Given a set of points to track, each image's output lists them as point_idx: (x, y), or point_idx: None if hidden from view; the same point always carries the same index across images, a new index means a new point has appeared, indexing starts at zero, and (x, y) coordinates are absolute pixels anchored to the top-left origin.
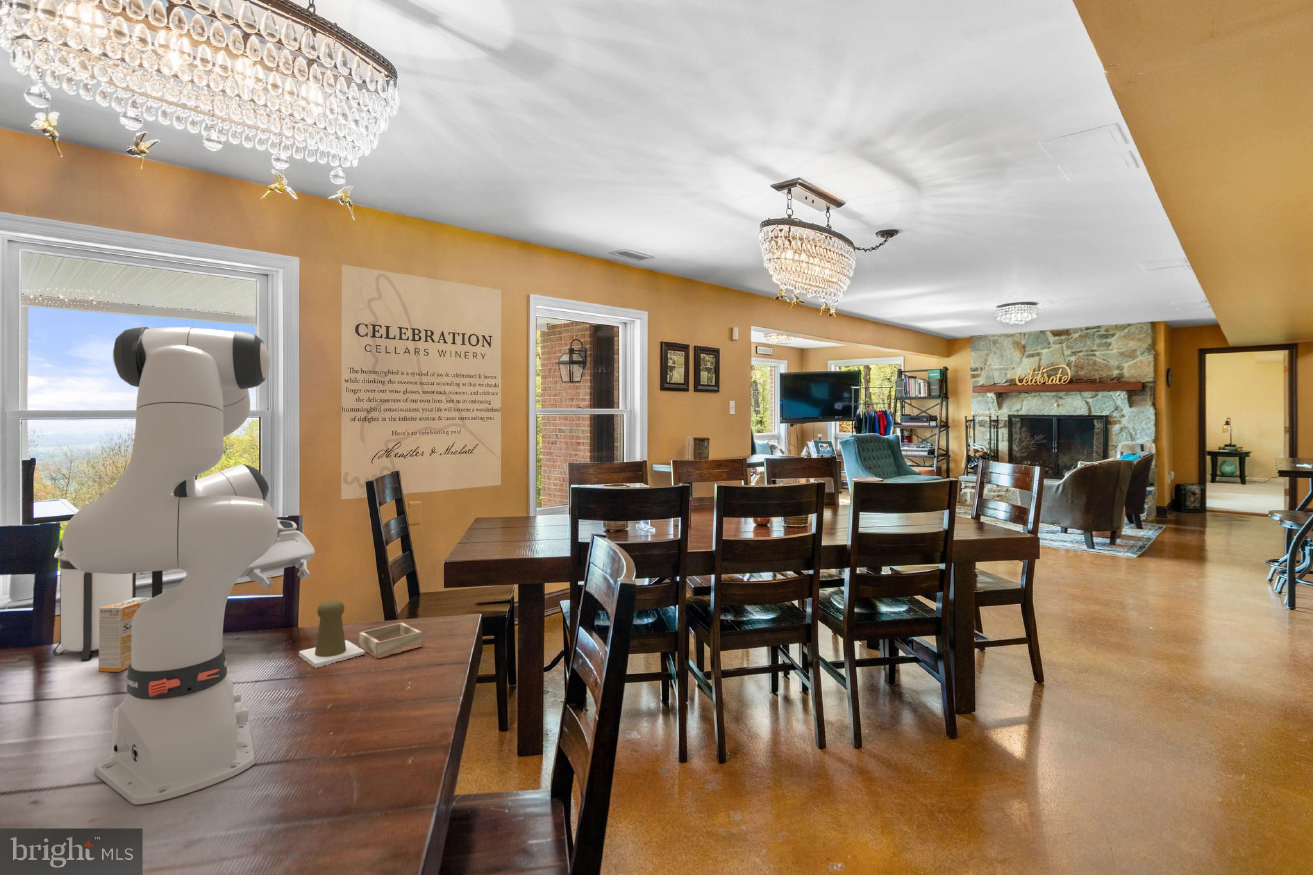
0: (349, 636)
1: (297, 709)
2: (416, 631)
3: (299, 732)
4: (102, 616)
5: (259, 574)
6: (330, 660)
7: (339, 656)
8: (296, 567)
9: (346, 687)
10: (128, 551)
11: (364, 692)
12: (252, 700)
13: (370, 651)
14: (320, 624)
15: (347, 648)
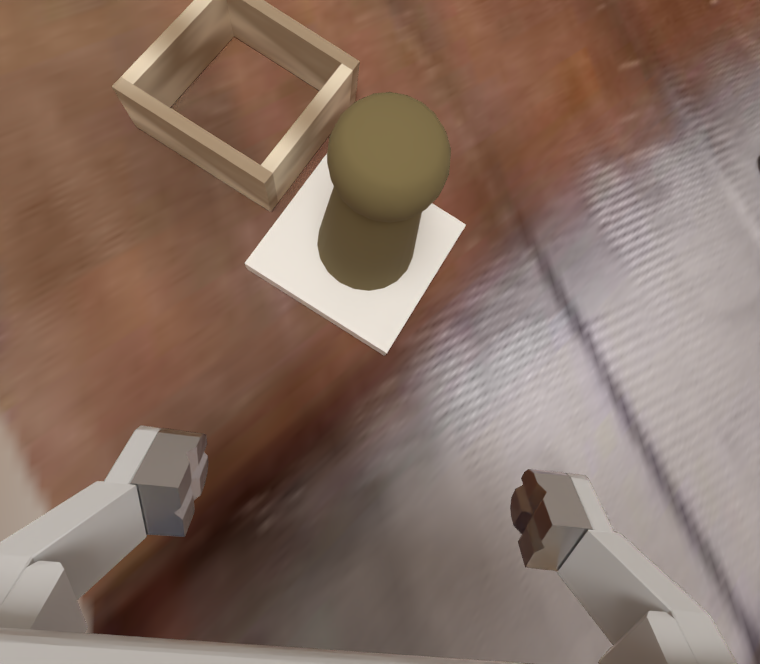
0: (158, 313)
1: (666, 118)
2: None
3: (734, 55)
4: None
5: (661, 578)
6: None
7: None
8: (84, 629)
9: (542, 80)
10: None
11: (553, 28)
12: (668, 247)
13: (327, 130)
14: (419, 213)
15: (325, 209)
